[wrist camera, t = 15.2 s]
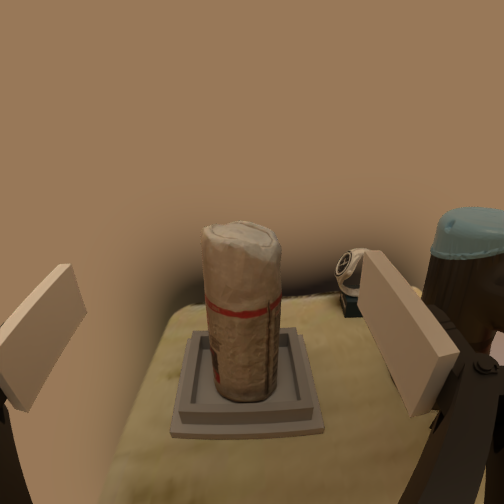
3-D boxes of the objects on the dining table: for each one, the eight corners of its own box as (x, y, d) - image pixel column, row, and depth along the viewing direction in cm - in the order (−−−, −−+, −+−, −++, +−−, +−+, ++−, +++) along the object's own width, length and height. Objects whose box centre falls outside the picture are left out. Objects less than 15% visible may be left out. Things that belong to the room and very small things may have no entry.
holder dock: (301, 340, 46) (303, 321, 44) (323, 433, 30) (327, 415, 29) (188, 344, 46) (185, 325, 44) (171, 437, 30) (164, 419, 29)
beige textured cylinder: (224, 353, 42) (211, 213, 34) (283, 361, 40) (287, 216, 32) (203, 397, 35) (177, 242, 27) (271, 409, 33) (273, 249, 25)
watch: (329, 300, 56) (334, 243, 51) (371, 299, 55) (380, 244, 51) (333, 318, 51) (340, 258, 46) (378, 316, 50) (389, 258, 46)
